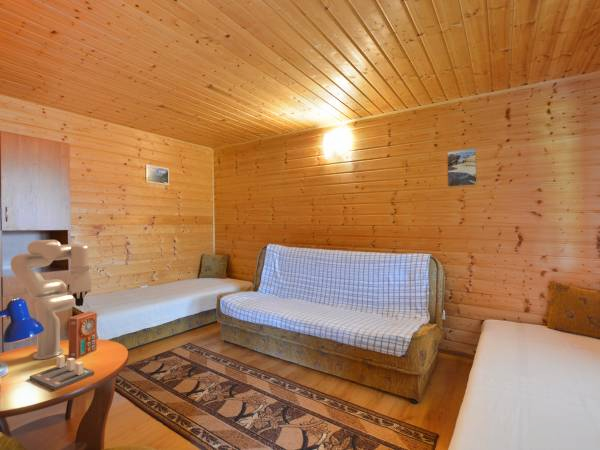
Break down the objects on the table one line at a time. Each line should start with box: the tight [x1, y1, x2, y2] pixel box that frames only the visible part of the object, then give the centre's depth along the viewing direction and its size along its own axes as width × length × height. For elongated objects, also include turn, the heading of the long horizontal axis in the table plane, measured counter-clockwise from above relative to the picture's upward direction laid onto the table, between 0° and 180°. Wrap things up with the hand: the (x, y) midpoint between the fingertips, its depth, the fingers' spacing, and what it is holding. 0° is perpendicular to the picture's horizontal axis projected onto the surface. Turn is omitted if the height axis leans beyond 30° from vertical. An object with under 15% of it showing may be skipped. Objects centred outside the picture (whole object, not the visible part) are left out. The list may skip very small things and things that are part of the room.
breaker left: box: [56, 354, 66, 368], centre depth 150 cm, size 3×2×5 cm, turn 64°
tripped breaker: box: [66, 357, 76, 371], centre depth 147 cm, size 3×2×5 cm, turn 64°
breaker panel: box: [29, 362, 95, 391], centre depth 144 cm, size 21×16×2 cm
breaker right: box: [75, 360, 84, 375], centre depth 143 cm, size 3×2×5 cm, turn 64°
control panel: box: [68, 310, 98, 360], centre depth 169 cm, size 21×7×15 cm
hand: (79, 305), depth 158 cm, fingers closed
